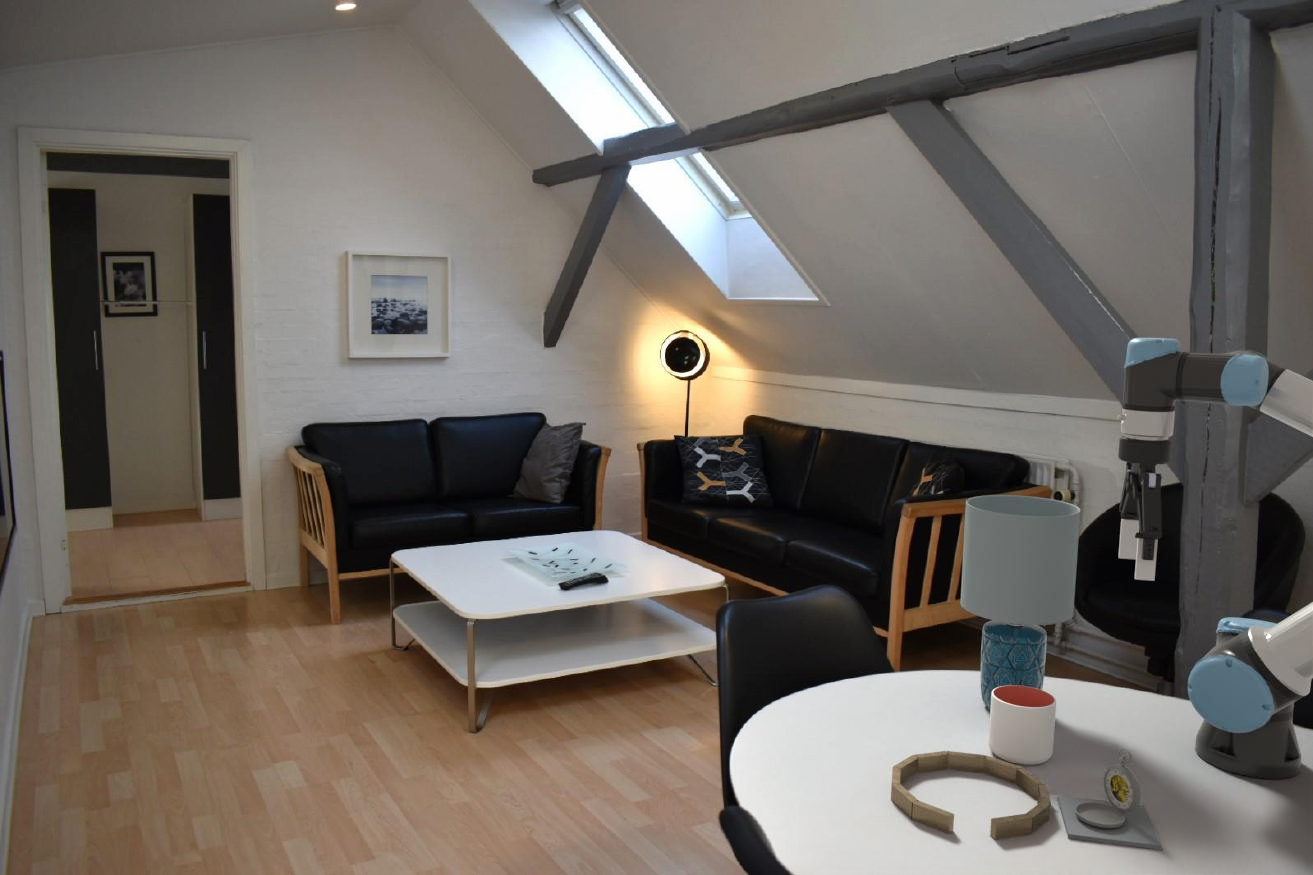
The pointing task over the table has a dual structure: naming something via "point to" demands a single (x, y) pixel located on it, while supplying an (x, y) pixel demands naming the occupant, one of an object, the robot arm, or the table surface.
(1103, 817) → the pocket watch
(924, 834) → the table surface
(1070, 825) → the coaster
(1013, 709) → the cup
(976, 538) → the lamp
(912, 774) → the c ring
